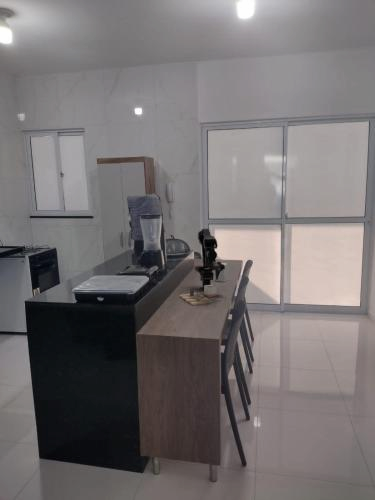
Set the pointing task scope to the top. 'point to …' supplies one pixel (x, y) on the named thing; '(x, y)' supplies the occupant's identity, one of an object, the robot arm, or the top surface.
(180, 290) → the top surface
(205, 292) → the sleeve
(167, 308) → the top surface
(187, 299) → the pin board
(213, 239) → the robot arm
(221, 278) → the supplement box
